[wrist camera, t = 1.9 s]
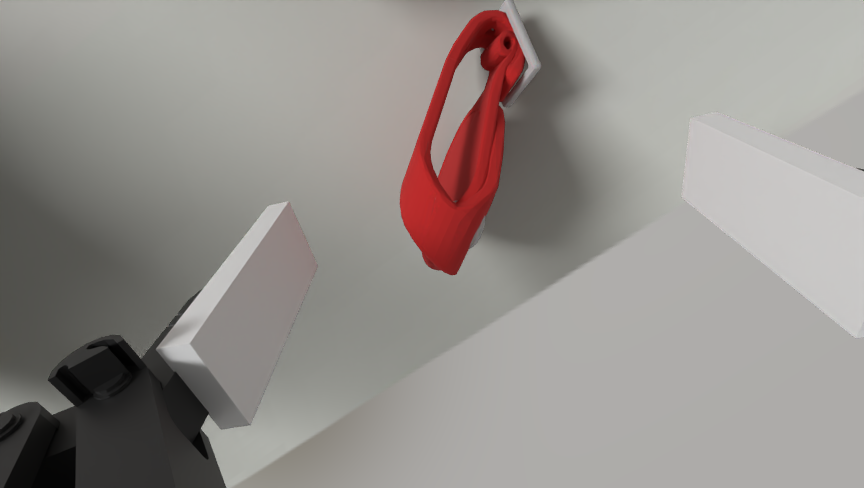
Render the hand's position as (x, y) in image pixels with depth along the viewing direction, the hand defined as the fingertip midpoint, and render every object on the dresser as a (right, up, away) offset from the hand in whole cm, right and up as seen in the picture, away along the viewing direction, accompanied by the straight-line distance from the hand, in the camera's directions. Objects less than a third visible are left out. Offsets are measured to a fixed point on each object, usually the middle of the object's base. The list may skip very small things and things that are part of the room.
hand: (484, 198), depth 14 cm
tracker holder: (-1, +5, +9) cm, 10 cm away
